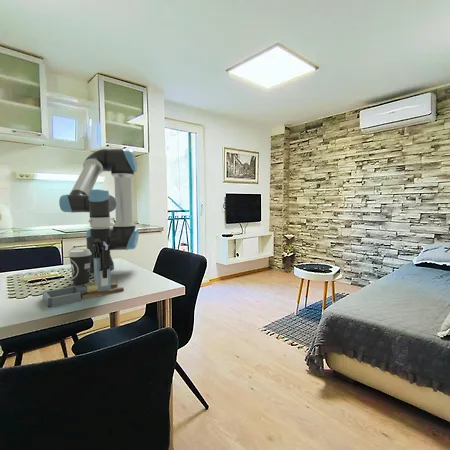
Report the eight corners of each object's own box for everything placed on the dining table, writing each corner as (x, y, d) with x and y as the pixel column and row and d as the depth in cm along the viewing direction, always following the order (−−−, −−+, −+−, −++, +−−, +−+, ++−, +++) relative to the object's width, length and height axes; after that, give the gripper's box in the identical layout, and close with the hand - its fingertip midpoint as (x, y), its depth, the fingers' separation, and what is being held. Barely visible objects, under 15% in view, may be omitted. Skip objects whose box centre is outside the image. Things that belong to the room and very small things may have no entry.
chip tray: (42, 299, 112) (42, 291, 112) (73, 293, 119) (72, 286, 119) (48, 307, 104) (48, 298, 103) (80, 300, 110) (80, 292, 110)
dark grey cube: (73, 296, 116) (73, 286, 115) (84, 293, 118) (84, 284, 118) (76, 298, 113) (76, 288, 112) (87, 296, 115) (87, 286, 115)
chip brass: (84, 293, 118) (84, 284, 118) (94, 291, 121) (94, 282, 121) (87, 296, 115) (87, 286, 115) (98, 294, 118) (97, 284, 118)
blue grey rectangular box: (94, 289, 121) (93, 258, 120) (107, 287, 124) (106, 256, 123) (98, 291, 118) (96, 259, 117) (110, 289, 121) (109, 258, 120)
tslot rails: (76, 293, 118) (76, 290, 118) (116, 286, 129) (116, 283, 129) (82, 299, 112) (82, 296, 112) (123, 290, 123) (123, 287, 122)
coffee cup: (83, 286, 129) (82, 252, 127) (64, 285, 131) (63, 251, 129) (97, 280, 138) (96, 249, 137) (79, 279, 140) (78, 248, 139)
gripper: (84, 227, 123) (86, 281, 125) (97, 230, 110) (100, 291, 112) (102, 225, 128) (104, 278, 130) (117, 228, 115) (119, 287, 117)
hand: (102, 284), depth 121 cm, fingers closed on blue grey rectangular box, 4 cm apart
